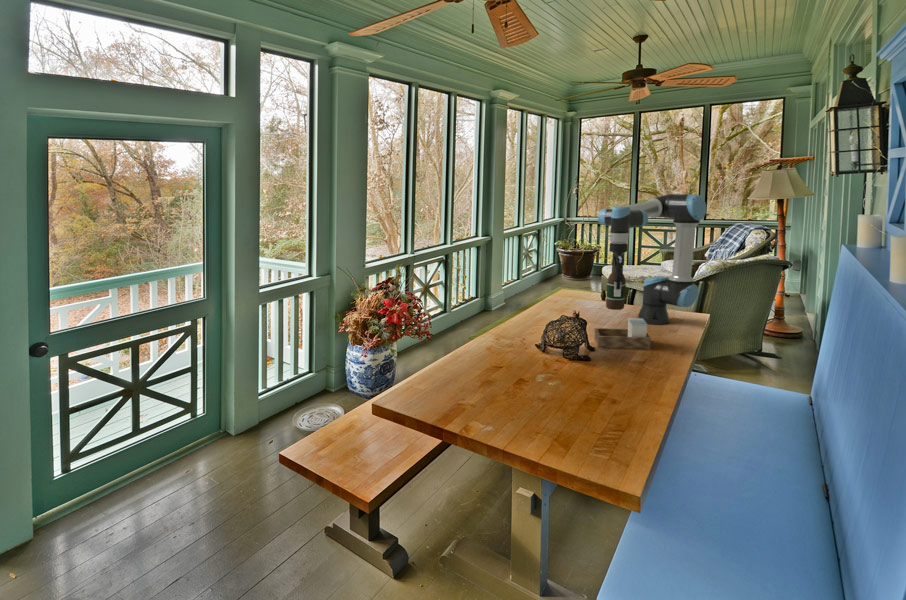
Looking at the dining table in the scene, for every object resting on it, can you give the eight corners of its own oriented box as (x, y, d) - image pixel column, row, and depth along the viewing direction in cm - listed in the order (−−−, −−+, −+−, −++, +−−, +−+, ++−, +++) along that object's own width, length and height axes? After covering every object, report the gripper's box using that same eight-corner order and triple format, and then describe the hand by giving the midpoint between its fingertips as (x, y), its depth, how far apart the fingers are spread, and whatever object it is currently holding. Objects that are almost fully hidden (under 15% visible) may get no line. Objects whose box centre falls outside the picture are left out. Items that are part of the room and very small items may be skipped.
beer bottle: (614, 310, 237) (618, 255, 232) (602, 307, 244) (605, 253, 238) (627, 308, 240) (631, 254, 235) (615, 305, 247) (618, 252, 242)
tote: (643, 340, 250) (644, 329, 249) (649, 349, 237) (650, 338, 236) (594, 338, 253) (594, 328, 252) (597, 347, 240) (598, 336, 239)
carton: (641, 338, 249) (642, 318, 246) (646, 345, 238) (647, 324, 236) (626, 338, 249) (628, 318, 247) (630, 345, 239) (632, 324, 237)
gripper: (606, 240, 246) (603, 289, 251) (613, 245, 226) (610, 299, 231) (623, 240, 245) (620, 290, 250) (632, 245, 225) (628, 299, 230)
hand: (615, 294), depth 241 cm, fingers closed on beer bottle, 8 cm apart
